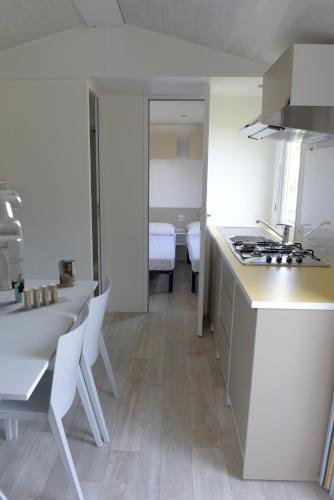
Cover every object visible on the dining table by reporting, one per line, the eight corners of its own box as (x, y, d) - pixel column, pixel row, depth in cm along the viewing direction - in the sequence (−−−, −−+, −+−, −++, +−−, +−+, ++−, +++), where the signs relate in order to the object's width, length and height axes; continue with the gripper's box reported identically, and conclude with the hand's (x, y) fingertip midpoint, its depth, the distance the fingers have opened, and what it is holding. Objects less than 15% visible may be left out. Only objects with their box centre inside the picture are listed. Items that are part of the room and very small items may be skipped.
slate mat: (19, 307, 204) (19, 306, 204) (63, 297, 221) (63, 296, 221) (25, 312, 197) (25, 311, 197) (71, 301, 214) (71, 300, 214)
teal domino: (15, 301, 213) (14, 284, 211) (18, 300, 214) (17, 283, 212) (18, 303, 210) (17, 286, 207) (22, 302, 211) (20, 285, 209)
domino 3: (42, 302, 210) (41, 285, 208) (45, 302, 211) (44, 285, 209) (46, 305, 207) (45, 287, 204) (49, 304, 208) (48, 287, 206)
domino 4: (50, 300, 213) (49, 283, 211) (53, 300, 215) (52, 283, 212) (54, 303, 210) (53, 286, 208) (57, 302, 211) (56, 285, 209)
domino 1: (24, 307, 204) (23, 289, 201) (27, 306, 205) (26, 288, 203) (28, 309, 200) (26, 291, 198) (31, 308, 201) (30, 291, 199)
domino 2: (33, 304, 207) (32, 287, 205) (36, 304, 208) (35, 286, 206) (37, 307, 203) (36, 289, 201) (40, 306, 204) (39, 289, 202)
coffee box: (76, 283, 246) (75, 259, 243) (73, 286, 240) (72, 262, 236) (63, 283, 247) (62, 259, 243) (59, 286, 241) (58, 261, 237)
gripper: (3, 258, 210) (5, 288, 214) (14, 264, 198) (17, 295, 201) (16, 257, 215) (19, 285, 219) (28, 262, 203) (31, 292, 206)
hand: (18, 290), depth 210 cm, fingers open, 9 cm apart
